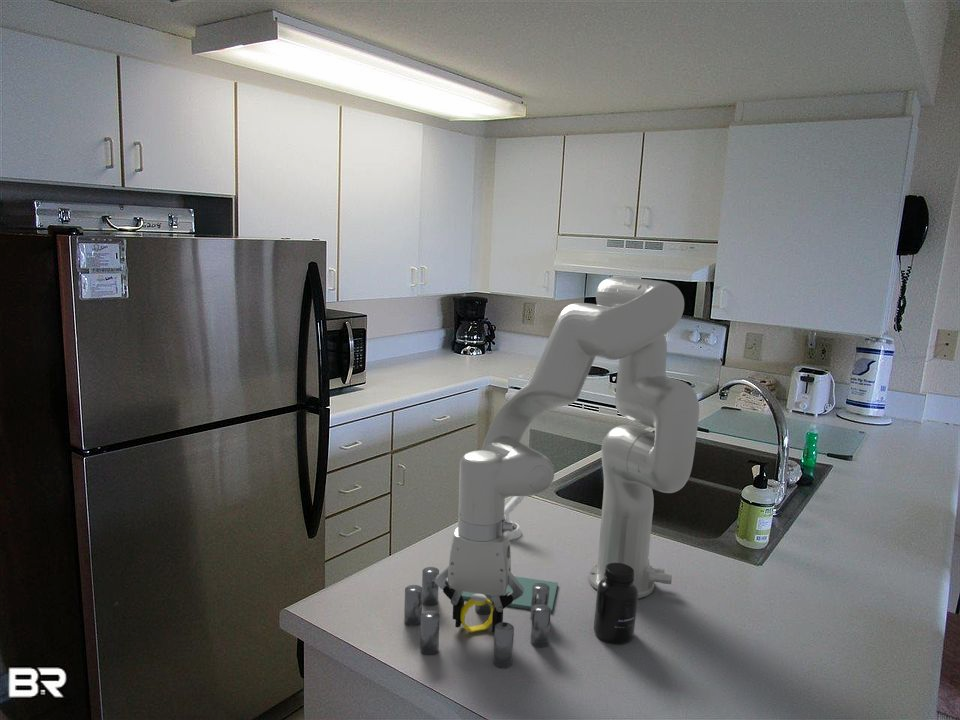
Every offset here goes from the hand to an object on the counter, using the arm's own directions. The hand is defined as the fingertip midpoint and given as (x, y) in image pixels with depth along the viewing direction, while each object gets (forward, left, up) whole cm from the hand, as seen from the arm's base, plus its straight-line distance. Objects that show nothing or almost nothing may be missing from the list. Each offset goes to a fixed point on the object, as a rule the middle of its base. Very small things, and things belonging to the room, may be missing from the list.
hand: (477, 624), depth 115 cm
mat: (-3, -14, -1) cm, 15 cm away
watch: (0, 0, -1) cm, 1 cm away
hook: (+2, -40, -1) cm, 40 cm away
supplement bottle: (-23, -6, -1) cm, 23 cm away
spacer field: (0, 0, -1) cm, 1 cm away
